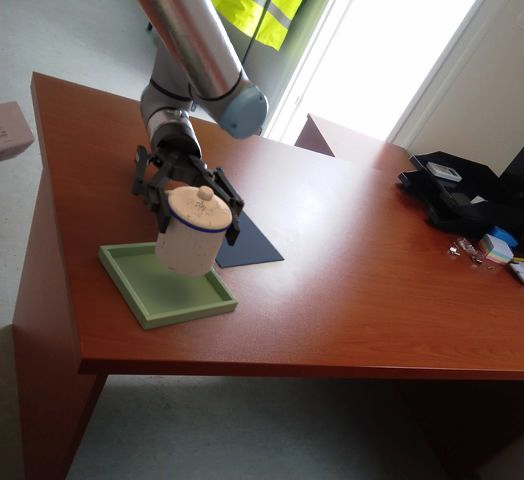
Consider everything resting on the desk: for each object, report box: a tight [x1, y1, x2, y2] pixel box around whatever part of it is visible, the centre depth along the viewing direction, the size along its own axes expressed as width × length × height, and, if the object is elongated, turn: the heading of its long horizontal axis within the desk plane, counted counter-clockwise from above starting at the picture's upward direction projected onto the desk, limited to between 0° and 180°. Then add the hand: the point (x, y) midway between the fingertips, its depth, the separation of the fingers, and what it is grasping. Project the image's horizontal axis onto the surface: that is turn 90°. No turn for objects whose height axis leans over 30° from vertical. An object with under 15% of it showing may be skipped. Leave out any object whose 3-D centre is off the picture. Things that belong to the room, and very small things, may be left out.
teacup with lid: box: [155, 186, 232, 277], centre depth 64 cm, size 12×9×12 cm
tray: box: [97, 241, 239, 331], centre depth 72 cm, size 16×17×2 cm
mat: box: [214, 209, 285, 269], centre depth 90 cm, size 20×16×1 cm
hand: (201, 231), depth 61 cm, fingers closed on teacup with lid, 9 cm apart
